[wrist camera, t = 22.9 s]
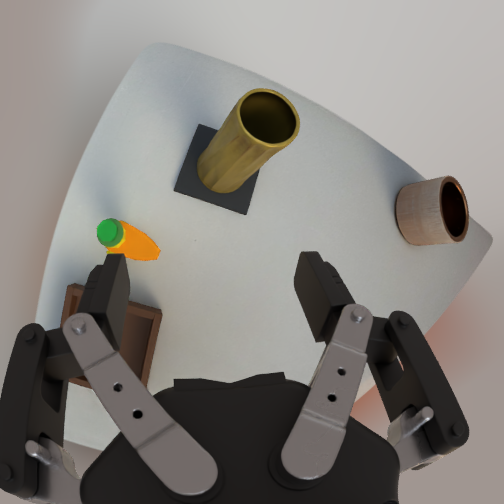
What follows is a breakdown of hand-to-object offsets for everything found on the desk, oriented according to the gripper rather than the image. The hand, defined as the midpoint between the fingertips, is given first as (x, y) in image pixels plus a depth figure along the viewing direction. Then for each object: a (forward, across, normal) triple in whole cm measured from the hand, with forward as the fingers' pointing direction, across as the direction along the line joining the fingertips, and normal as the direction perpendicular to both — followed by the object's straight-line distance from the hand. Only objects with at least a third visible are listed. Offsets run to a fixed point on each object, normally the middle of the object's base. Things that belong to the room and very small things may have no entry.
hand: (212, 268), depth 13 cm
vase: (+23, -2, +3) cm, 23 cm away
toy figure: (+17, +8, +10) cm, 21 cm away
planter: (+25, -36, +10) cm, 45 cm away
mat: (+23, -2, +3) cm, 24 cm away
